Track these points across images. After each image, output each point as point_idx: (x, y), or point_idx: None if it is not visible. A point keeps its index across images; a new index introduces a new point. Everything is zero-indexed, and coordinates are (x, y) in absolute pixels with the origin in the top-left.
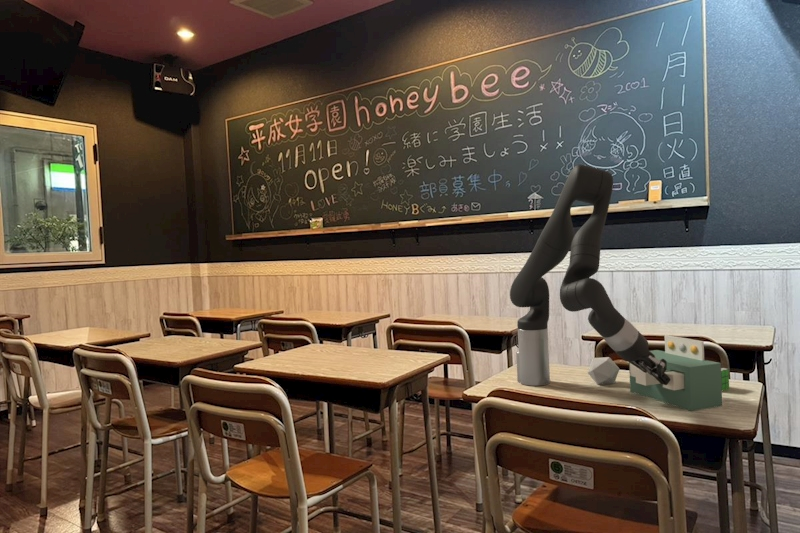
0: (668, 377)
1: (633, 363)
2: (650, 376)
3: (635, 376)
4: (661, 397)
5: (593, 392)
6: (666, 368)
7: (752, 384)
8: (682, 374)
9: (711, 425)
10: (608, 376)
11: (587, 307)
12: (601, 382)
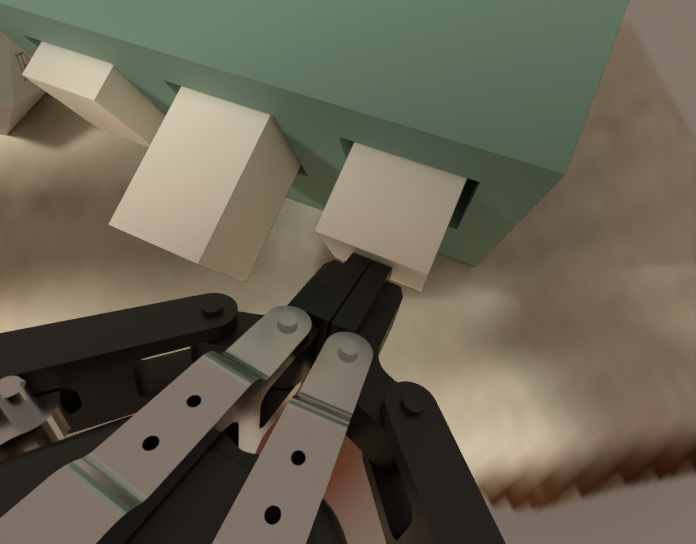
0: (398, 303)
1: (84, 425)
2: (238, 235)
3: (126, 137)
4: (305, 198)
5: (31, 252)
6: (447, 433)
7: None
8: (461, 190)
9: (660, 437)
10: (6, 106)
11: None
12: (9, 125)
